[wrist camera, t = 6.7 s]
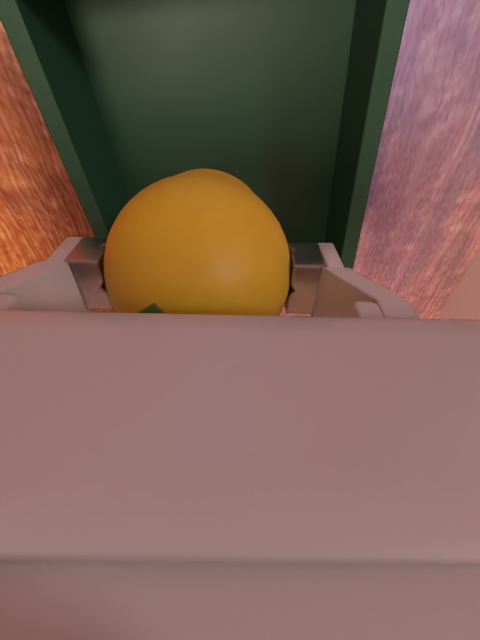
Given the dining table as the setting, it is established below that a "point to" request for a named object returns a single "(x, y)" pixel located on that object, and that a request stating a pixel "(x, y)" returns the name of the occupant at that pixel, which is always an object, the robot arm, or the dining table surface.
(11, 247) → the dining table surface
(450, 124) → the dining table surface
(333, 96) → the crate
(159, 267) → the orange
